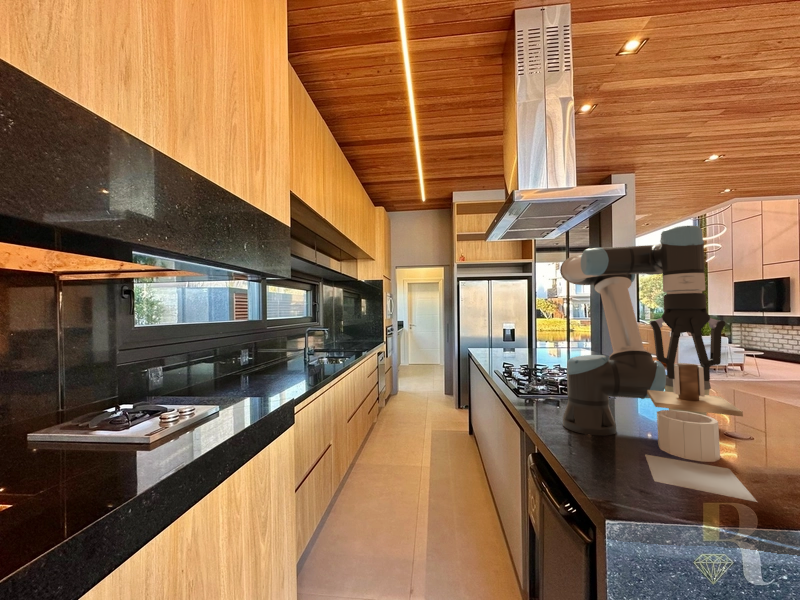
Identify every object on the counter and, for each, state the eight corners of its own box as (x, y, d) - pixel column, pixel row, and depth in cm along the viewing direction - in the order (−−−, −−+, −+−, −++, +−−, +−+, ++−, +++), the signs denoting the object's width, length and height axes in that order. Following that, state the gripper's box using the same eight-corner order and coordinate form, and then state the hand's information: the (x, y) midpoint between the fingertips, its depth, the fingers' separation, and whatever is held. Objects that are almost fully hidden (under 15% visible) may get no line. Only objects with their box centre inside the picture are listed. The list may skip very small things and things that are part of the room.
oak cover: (655, 406, 73) (653, 366, 73) (647, 393, 85) (645, 358, 85) (743, 416, 66) (740, 371, 66) (720, 400, 78) (718, 362, 78)
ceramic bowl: (663, 456, 85) (661, 419, 85) (655, 441, 95) (654, 408, 96) (726, 467, 79) (724, 426, 79) (711, 449, 89) (709, 414, 89)
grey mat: (654, 482, 72) (654, 481, 72) (644, 455, 85) (644, 454, 85) (758, 504, 63) (757, 501, 63) (729, 470, 77) (729, 468, 77)
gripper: (641, 293, 78) (645, 393, 77) (739, 290, 69) (745, 402, 68) (638, 295, 84) (642, 387, 83) (727, 292, 75) (732, 395, 74)
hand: (688, 393), depth 76 cm, fingers closed on oak cover, 4 cm apart
